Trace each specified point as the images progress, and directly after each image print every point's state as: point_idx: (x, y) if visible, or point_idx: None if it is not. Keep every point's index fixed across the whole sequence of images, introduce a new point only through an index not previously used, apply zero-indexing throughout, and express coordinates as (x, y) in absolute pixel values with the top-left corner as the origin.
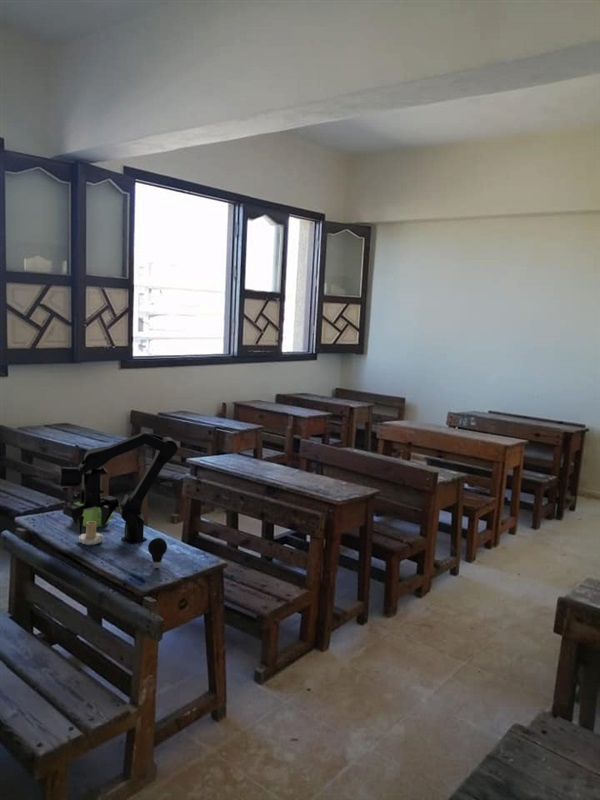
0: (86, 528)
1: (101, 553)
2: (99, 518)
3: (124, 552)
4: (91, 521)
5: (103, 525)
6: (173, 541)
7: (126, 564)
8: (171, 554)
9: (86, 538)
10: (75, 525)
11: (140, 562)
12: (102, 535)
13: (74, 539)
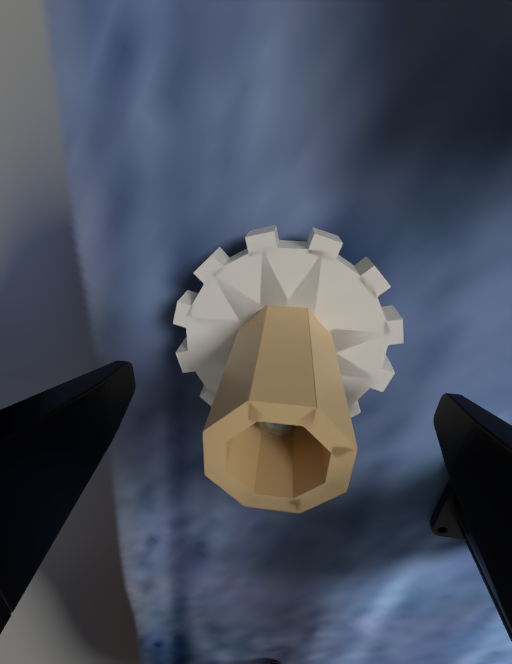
0: (220, 387)
1: (212, 486)
2: None
3: (308, 545)
4: (314, 432)
5: (440, 446)
6: None
7: (220, 600)
8: (425, 655)
9: (222, 356)
10: (14, 409)
11: (274, 620)
12: (379, 388)
13: (222, 162)
